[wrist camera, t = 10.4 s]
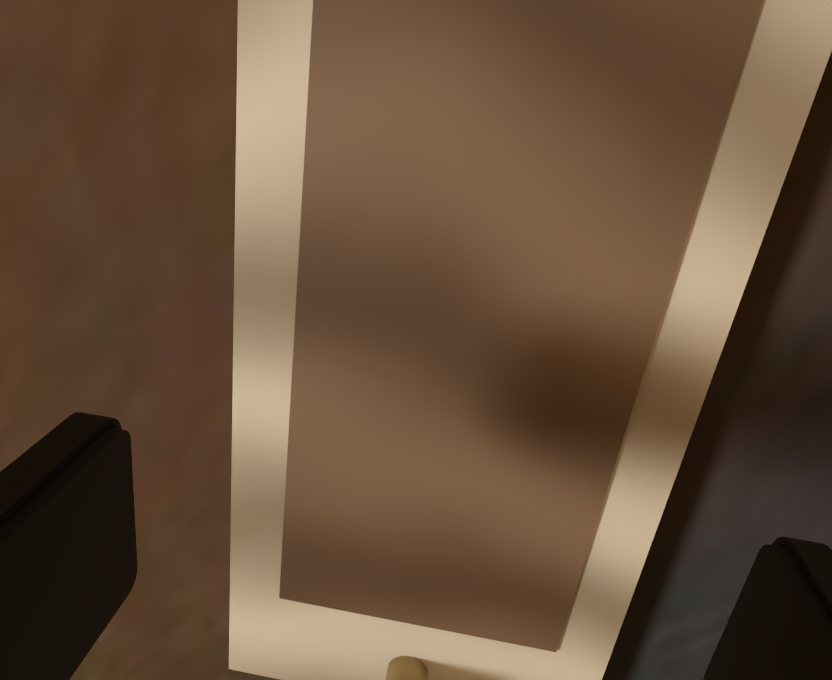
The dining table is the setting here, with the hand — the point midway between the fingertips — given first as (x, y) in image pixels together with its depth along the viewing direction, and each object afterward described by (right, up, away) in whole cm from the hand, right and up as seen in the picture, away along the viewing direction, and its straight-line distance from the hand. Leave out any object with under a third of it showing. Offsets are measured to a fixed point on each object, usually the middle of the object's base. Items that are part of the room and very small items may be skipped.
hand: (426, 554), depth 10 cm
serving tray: (+1, +3, +6) cm, 7 cm away
